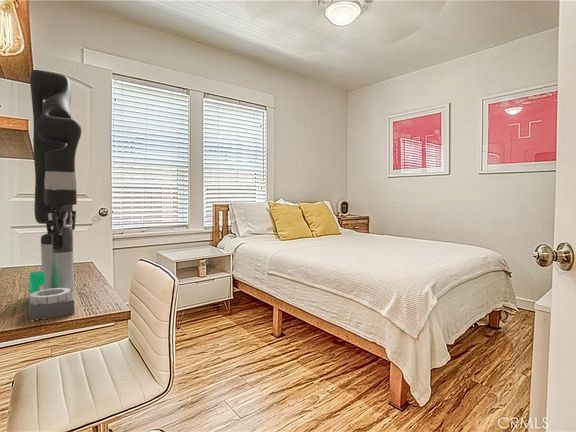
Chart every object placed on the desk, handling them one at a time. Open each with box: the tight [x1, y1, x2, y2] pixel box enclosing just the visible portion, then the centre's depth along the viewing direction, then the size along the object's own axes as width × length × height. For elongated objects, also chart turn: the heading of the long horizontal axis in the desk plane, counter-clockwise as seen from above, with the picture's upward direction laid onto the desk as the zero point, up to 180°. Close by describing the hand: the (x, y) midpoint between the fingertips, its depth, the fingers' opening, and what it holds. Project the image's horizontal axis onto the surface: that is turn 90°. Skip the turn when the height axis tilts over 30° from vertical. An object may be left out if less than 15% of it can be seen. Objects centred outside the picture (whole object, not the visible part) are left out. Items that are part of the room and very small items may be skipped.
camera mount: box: [28, 270, 45, 298], centre depth 105 cm, size 12×8×10 cm, turn 43°
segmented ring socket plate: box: [27, 288, 75, 322], centre depth 96 cm, size 10×10×6 cm
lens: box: [52, 225, 74, 253], centre depth 96 cm, size 5×5×8 cm
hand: (62, 246), depth 96 cm, fingers closed on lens, 5 cm apart
